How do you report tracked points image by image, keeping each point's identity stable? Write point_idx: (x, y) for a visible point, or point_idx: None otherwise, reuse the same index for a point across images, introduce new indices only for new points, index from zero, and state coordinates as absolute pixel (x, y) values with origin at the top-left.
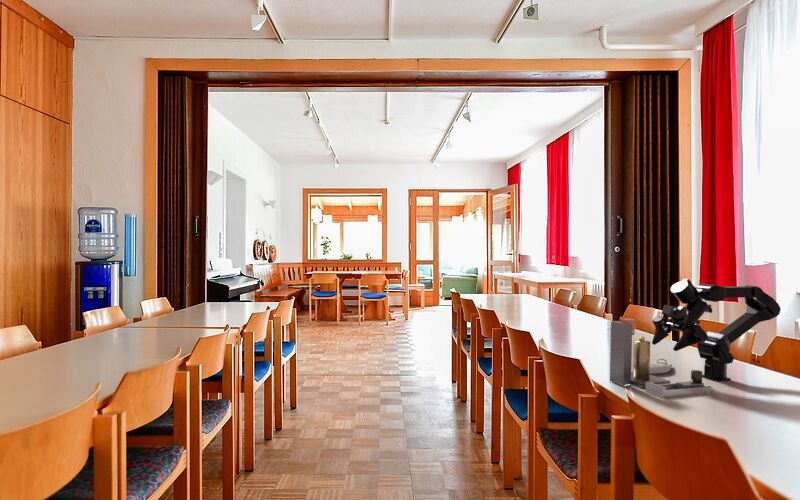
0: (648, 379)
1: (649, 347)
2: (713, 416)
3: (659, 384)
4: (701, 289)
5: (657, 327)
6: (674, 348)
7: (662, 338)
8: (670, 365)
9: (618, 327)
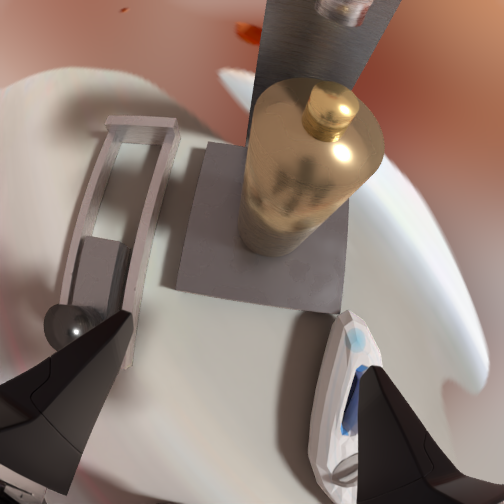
0: (234, 221)
1: (250, 154)
2: (12, 138)
3: (158, 182)
4: None
5: (456, 486)
6: (117, 312)
7: (362, 477)
8: (328, 492)
9: None
